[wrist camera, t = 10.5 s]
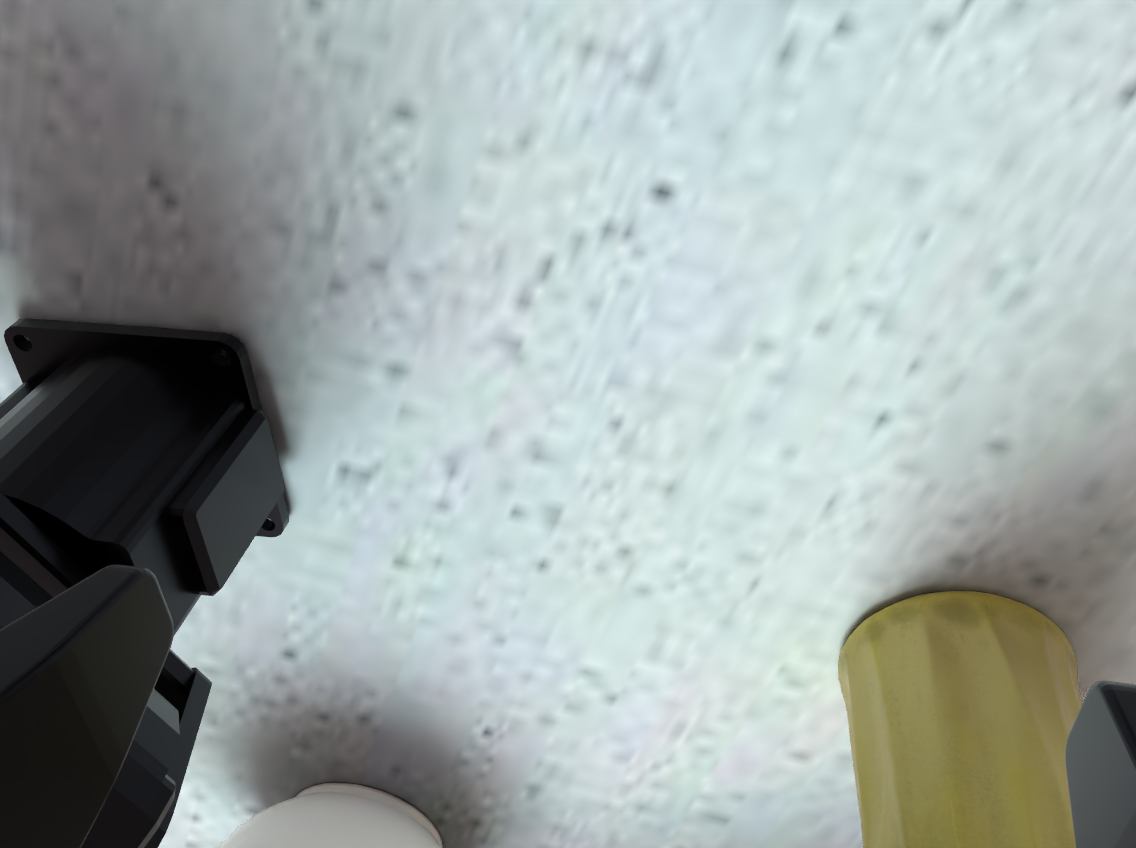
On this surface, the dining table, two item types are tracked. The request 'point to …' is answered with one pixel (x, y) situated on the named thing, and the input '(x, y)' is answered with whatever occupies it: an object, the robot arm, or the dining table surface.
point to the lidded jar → (337, 821)
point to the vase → (961, 723)
